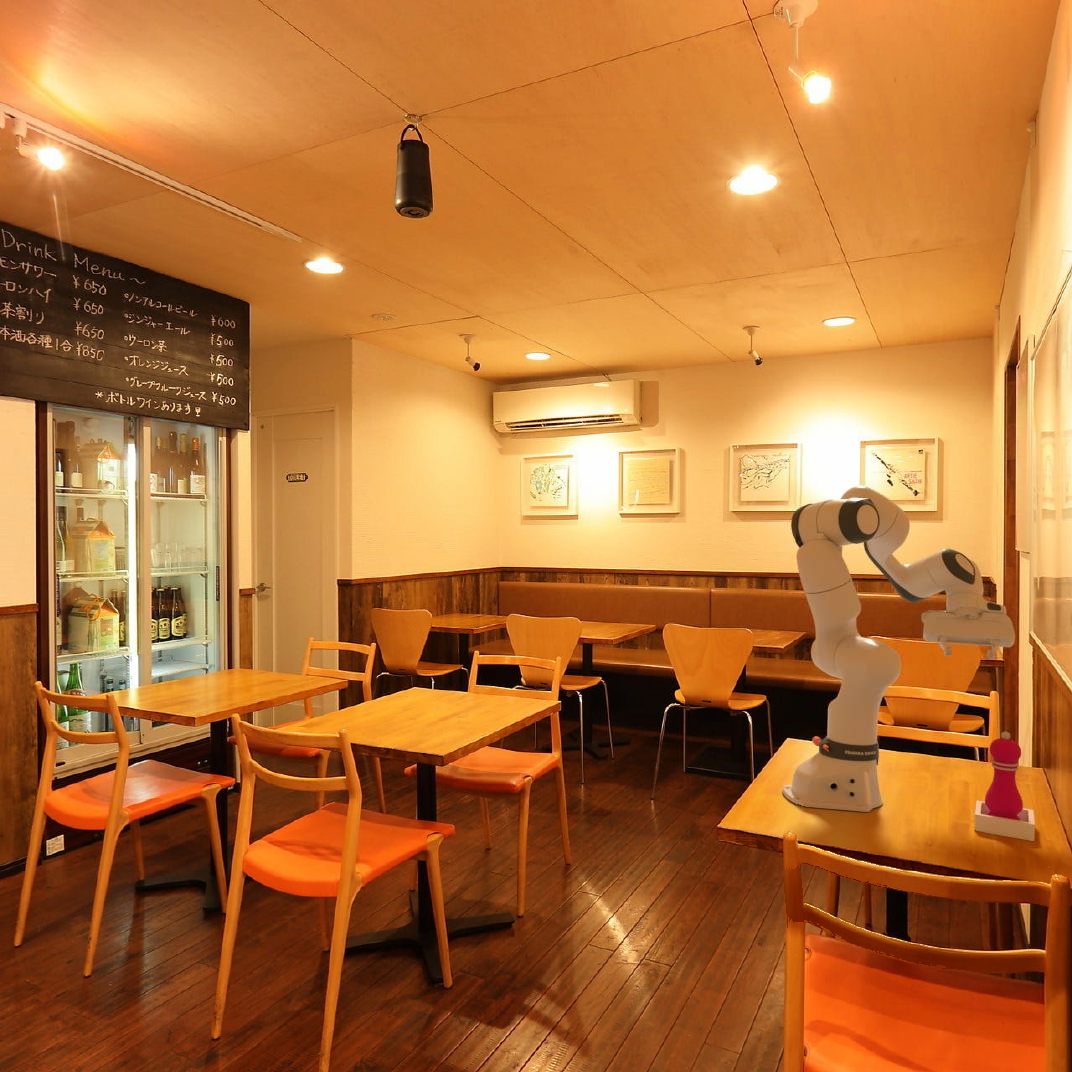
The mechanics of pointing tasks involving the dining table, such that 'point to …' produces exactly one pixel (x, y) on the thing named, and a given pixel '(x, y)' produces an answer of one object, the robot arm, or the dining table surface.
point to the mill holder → (1005, 823)
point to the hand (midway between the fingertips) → (969, 655)
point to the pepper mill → (1004, 779)
